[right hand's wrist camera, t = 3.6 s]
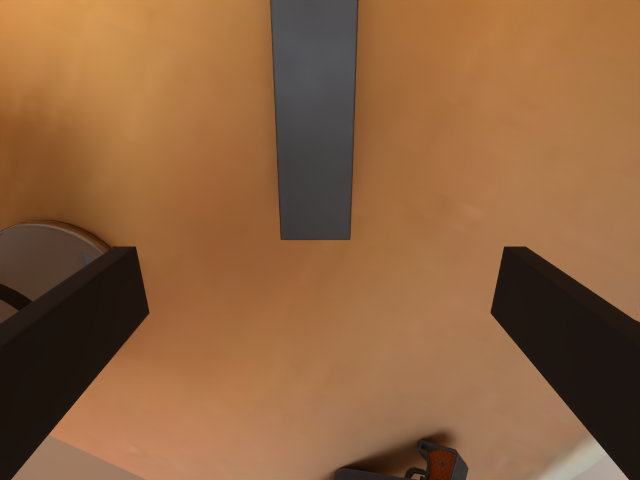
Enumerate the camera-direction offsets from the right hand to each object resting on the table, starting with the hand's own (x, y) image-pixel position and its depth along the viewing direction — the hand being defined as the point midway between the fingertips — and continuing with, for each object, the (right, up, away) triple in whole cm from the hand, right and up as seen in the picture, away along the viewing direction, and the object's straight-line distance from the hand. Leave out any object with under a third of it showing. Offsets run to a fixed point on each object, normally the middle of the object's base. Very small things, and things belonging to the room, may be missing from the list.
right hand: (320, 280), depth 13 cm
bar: (0, +16, +16) cm, 23 cm away
